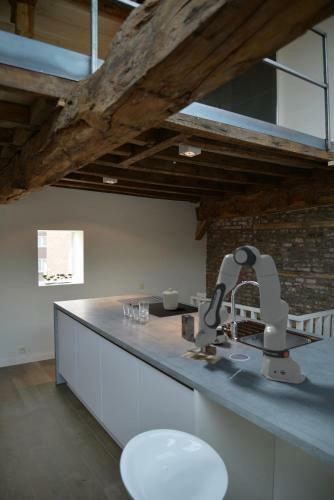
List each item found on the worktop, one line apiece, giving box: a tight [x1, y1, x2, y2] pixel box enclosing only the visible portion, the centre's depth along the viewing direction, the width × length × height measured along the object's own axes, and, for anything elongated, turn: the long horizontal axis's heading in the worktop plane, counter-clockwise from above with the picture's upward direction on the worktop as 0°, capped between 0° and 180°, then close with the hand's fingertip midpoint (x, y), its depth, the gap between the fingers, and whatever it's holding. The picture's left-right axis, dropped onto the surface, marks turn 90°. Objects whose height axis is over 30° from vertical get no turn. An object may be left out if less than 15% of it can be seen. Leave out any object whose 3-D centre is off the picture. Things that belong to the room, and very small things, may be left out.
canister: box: [161, 287, 180, 311], centre depth 349 cm, size 18×18×21 cm
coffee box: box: [181, 314, 195, 341], centre depth 247 cm, size 9×6×16 cm
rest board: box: [181, 352, 223, 365], centre depth 206 cm, size 22×12×1 cm, turn 55°
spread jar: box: [211, 325, 230, 346], centre depth 235 cm, size 12×11×12 cm
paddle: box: [186, 345, 218, 356], centre depth 205 cm, size 17×8×4 cm, turn 55°
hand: (206, 350), depth 204 cm, fingers closed on paddle, 3 cm apart
